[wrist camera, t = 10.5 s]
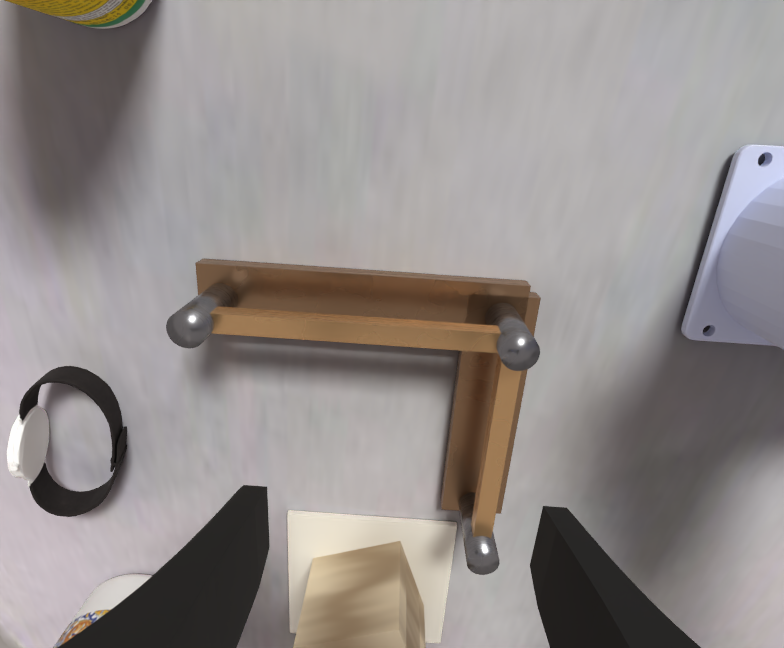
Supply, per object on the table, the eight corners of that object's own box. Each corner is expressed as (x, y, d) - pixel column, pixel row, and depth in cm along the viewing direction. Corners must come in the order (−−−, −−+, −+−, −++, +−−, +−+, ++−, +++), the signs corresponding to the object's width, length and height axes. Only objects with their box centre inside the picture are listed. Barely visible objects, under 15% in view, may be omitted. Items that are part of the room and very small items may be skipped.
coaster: (456, 522, 26) (457, 526, 25) (439, 638, 29) (440, 643, 29) (288, 510, 26) (287, 514, 25) (290, 627, 29) (289, 632, 29)
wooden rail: (537, 281, 21) (570, 317, 17) (497, 505, 25) (515, 576, 21) (203, 258, 21) (153, 288, 17) (221, 486, 25) (185, 553, 21)
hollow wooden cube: (400, 540, 26) (399, 629, 21) (424, 605, 28) (427, 700, 23) (312, 558, 26) (293, 648, 22) (341, 620, 28) (328, 716, 24)
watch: (34, 351, 23) (-30, 388, 20) (133, 366, 23) (86, 406, 20) (50, 480, 26) (-4, 532, 22) (138, 493, 26) (98, 547, 23)
